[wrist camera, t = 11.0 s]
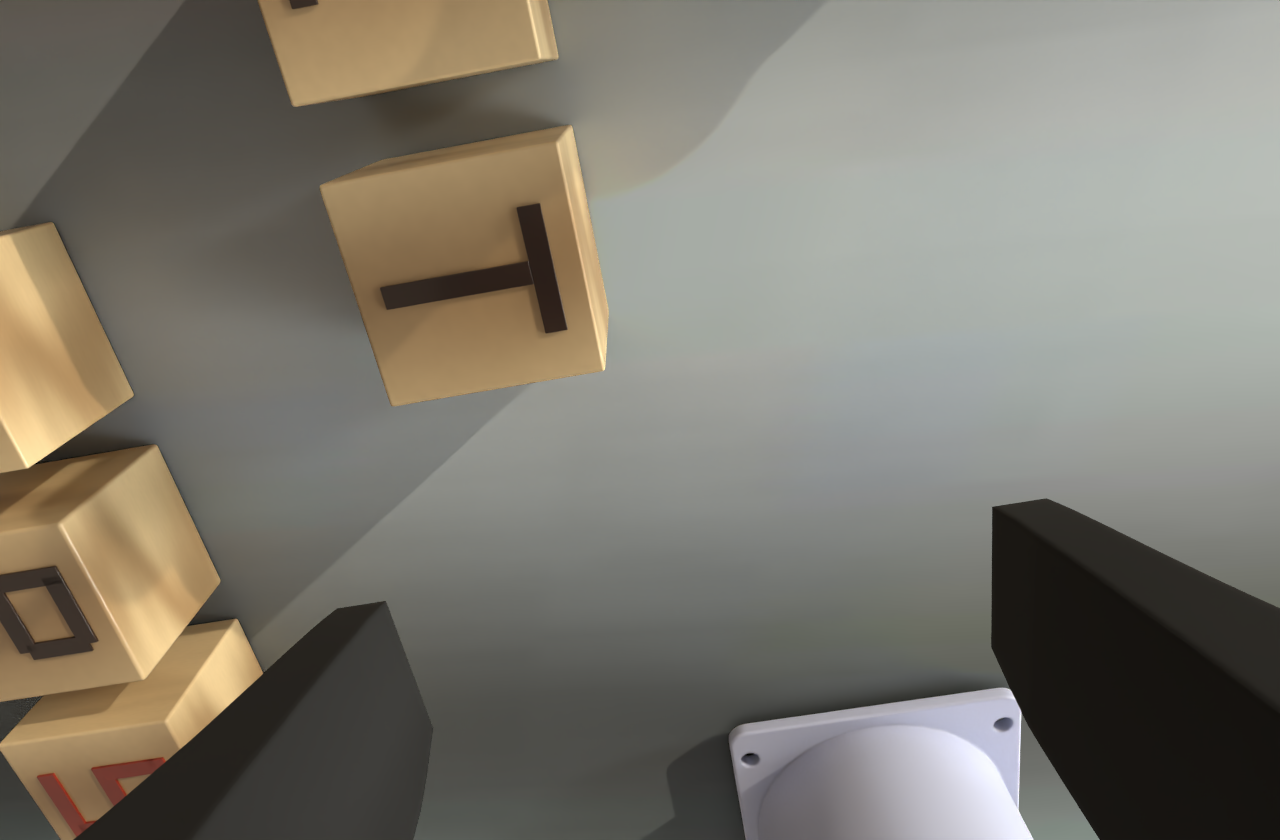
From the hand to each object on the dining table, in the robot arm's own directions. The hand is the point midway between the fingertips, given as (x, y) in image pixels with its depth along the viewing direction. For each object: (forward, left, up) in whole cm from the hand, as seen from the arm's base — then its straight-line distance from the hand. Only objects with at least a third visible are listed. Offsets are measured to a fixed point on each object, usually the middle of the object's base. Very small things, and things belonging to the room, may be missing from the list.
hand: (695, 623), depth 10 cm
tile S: (-7, +14, -9) cm, 18 cm away
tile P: (-2, +14, -9) cm, 17 cm away
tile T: (+3, +3, -9) cm, 10 cm away
